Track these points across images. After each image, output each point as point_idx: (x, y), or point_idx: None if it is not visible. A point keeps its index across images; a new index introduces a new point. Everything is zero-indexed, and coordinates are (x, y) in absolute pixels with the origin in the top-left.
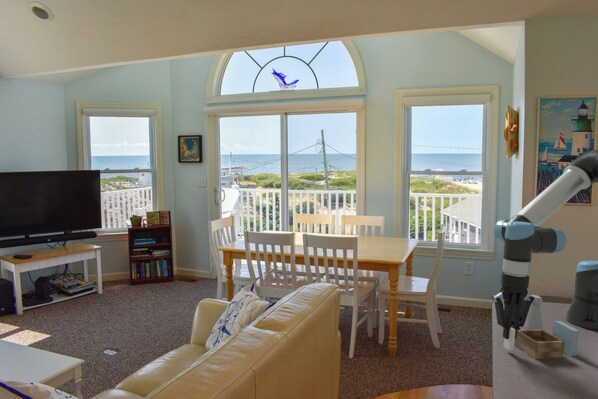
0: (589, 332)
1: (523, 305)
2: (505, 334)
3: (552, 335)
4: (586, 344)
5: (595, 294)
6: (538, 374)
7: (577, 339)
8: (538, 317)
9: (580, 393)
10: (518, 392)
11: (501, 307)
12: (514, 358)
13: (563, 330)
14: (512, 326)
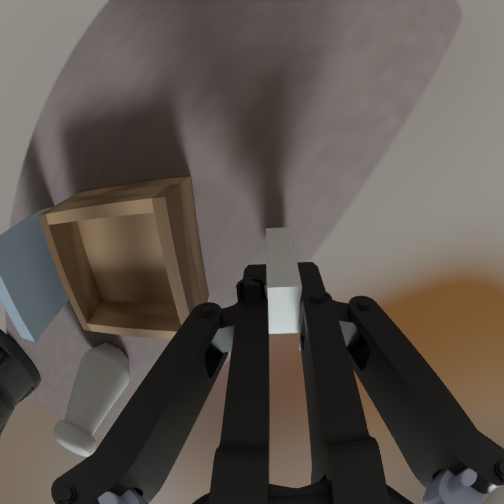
0: (9, 326)
1: (163, 455)
2: (320, 278)
3: (62, 277)
4: None
5: None
6: (268, 39)
7: (4, 233)
8: (81, 384)
9: None
10: None
11: (450, 417)
12: (284, 184)
13: (22, 287)
14: (268, 320)
